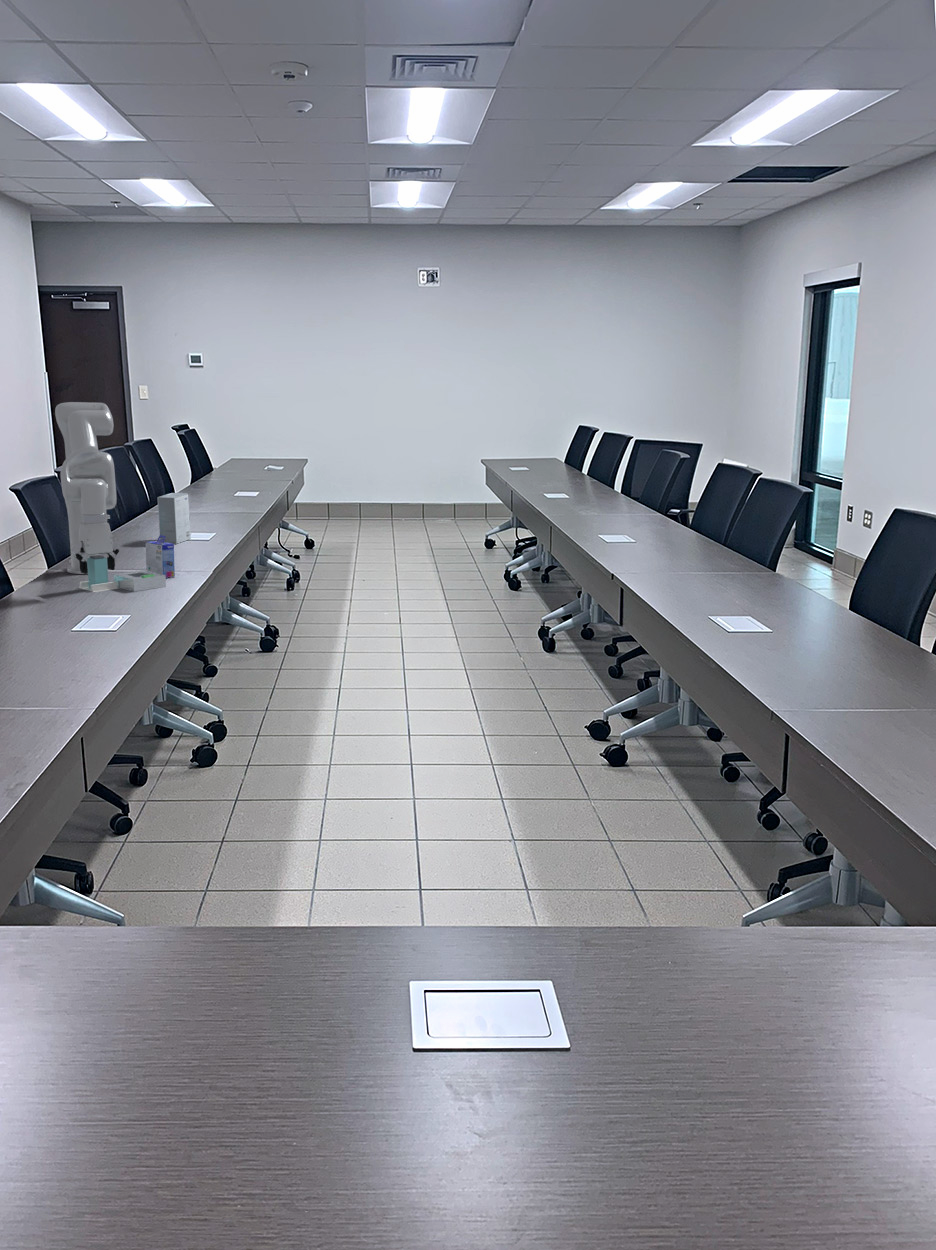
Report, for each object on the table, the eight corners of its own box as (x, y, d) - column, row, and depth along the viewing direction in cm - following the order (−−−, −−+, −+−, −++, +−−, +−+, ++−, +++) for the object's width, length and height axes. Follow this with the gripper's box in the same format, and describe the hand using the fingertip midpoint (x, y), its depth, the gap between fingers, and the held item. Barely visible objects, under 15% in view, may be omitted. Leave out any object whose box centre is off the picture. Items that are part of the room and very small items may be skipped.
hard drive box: (174, 538, 457) (172, 492, 452) (191, 539, 456) (189, 493, 451) (159, 543, 442) (157, 496, 437) (176, 544, 441) (174, 497, 436)
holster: (78, 590, 346) (77, 581, 346) (103, 586, 353) (102, 578, 352) (94, 595, 340) (94, 586, 339) (119, 591, 347) (118, 582, 346)
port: (114, 589, 350) (113, 572, 348) (145, 584, 358) (144, 568, 357) (134, 594, 342) (133, 577, 341) (166, 589, 351) (165, 573, 350)
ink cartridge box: (176, 577, 372) (174, 536, 369) (163, 579, 368) (161, 538, 365) (158, 573, 378) (156, 533, 375) (145, 575, 374) (143, 535, 370)
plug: (88, 587, 346) (86, 556, 344) (101, 586, 349) (99, 554, 347) (96, 589, 343) (94, 557, 341) (108, 588, 347) (106, 556, 344)
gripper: (112, 516, 350) (115, 567, 353) (63, 520, 337) (67, 573, 340) (124, 518, 345) (127, 569, 349) (76, 522, 332) (79, 575, 336)
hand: (97, 571), depth 344 cm, fingers open, 9 cm apart
